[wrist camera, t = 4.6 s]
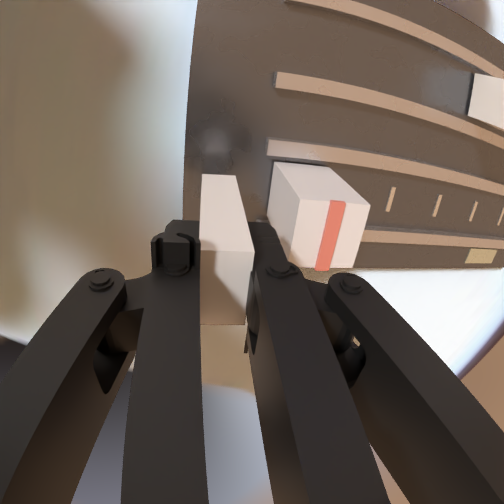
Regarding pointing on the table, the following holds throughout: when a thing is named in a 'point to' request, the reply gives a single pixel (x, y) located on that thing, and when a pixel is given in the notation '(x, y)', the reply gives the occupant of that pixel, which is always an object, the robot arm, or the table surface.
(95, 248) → the table surface
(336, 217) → the fader
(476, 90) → the fader
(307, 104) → the console
